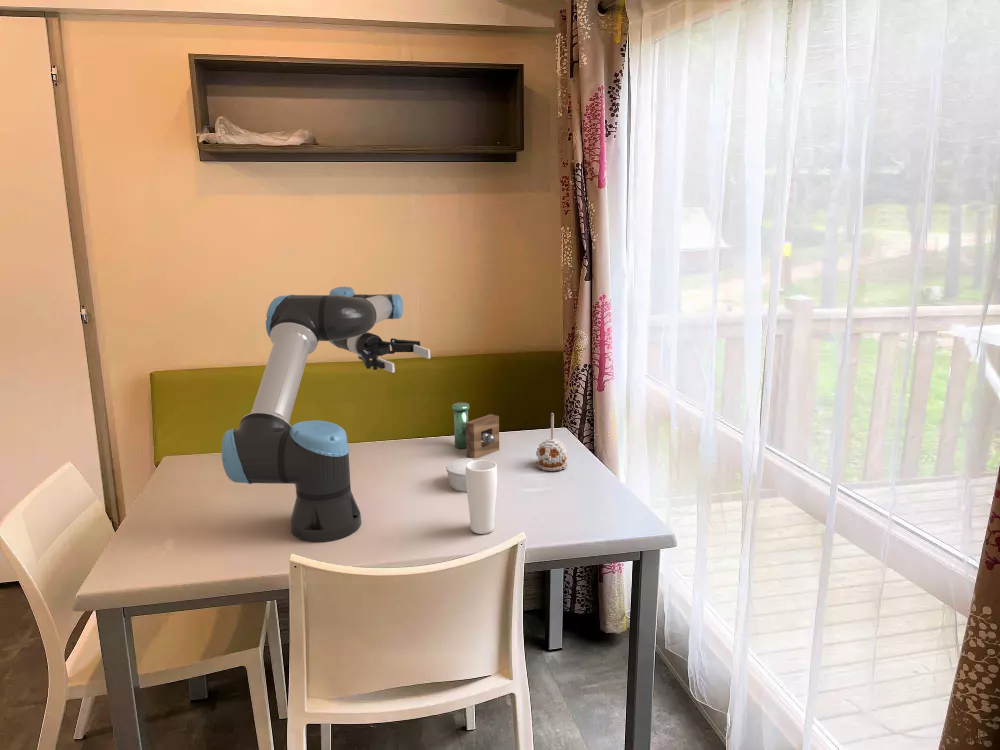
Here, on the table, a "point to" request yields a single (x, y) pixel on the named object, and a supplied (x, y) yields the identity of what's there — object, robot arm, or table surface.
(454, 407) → the green tall capped cylinder
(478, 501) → the drinking glass
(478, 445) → the brown striped block
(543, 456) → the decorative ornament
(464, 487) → the ramekin
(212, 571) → the table surface
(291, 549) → the table surface
